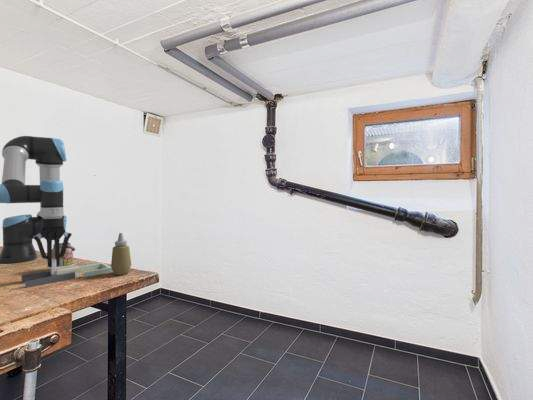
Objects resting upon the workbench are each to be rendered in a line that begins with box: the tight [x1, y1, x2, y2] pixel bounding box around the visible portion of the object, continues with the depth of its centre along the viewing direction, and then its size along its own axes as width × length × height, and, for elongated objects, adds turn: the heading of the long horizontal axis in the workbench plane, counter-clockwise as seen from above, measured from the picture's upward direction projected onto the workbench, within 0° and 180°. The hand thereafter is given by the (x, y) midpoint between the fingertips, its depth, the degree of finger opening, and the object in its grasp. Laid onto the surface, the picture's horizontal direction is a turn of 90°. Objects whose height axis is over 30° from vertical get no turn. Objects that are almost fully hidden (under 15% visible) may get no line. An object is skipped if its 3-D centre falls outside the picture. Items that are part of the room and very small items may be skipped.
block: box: [56, 263, 81, 278], centre depth 123 cm, size 6×8×4 cm
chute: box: [20, 270, 76, 288], centre depth 118 cm, size 11×16×2 cm
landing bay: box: [78, 262, 113, 278], centre depth 130 cm, size 12×11×2 cm
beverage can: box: [52, 242, 76, 267], centre depth 134 cm, size 9×8×12 cm
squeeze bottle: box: [110, 232, 132, 276], centre depth 127 cm, size 8×8×18 cm
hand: (53, 274), depth 120 cm, fingers closed
